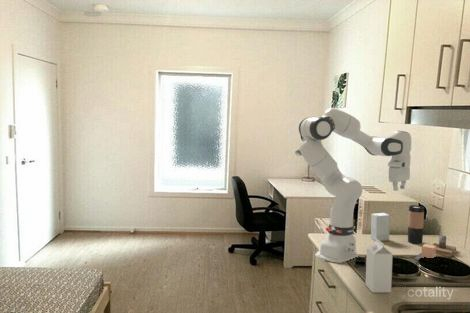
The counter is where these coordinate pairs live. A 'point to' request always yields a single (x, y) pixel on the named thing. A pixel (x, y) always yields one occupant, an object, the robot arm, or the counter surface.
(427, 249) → the cap
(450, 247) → the post stand
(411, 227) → the travel mug
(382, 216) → the skincare box
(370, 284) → the milk carton
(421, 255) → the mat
